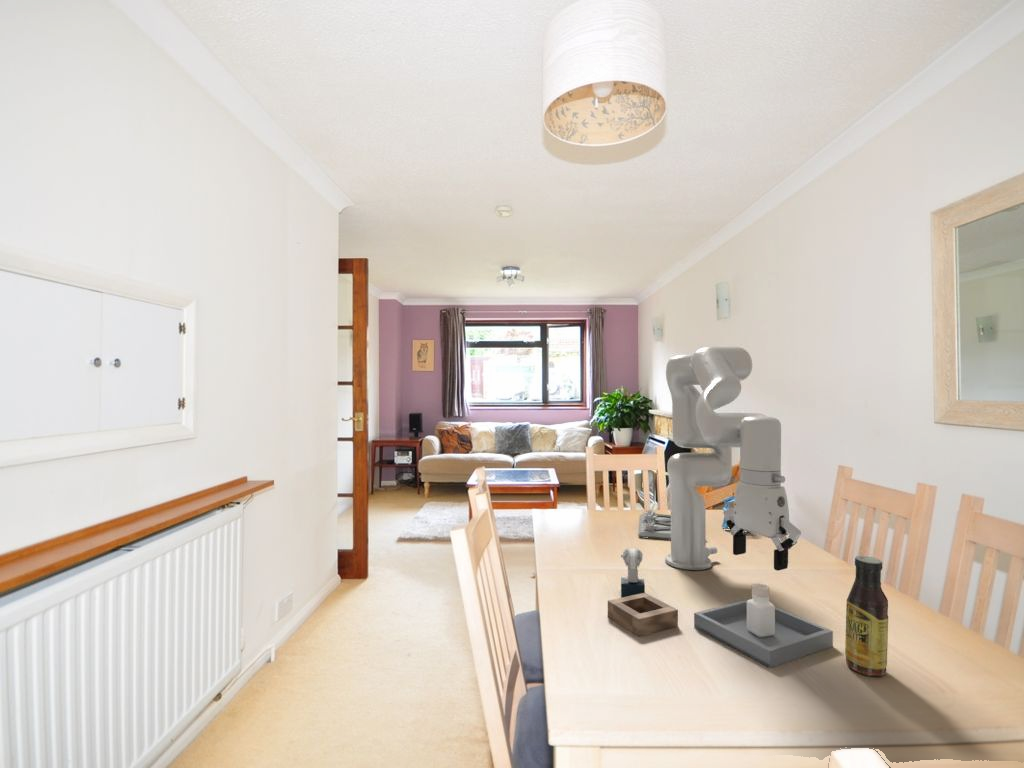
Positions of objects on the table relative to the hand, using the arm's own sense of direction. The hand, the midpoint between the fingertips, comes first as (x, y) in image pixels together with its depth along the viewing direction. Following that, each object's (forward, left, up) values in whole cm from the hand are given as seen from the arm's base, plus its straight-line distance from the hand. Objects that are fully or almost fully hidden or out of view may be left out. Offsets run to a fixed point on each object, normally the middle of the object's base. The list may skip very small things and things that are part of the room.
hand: (759, 561), depth 107 cm
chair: (-62, -59, -15) cm, 87 cm away
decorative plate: (-42, -70, -16) cm, 83 cm away
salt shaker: (0, 0, -15) cm, 15 cm away
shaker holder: (+17, -15, -15) cm, 28 cm away
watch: (+9, -28, -15) cm, 34 cm away
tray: (0, +1, -15) cm, 15 cm away
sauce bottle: (-6, +18, -15) cm, 24 cm away
